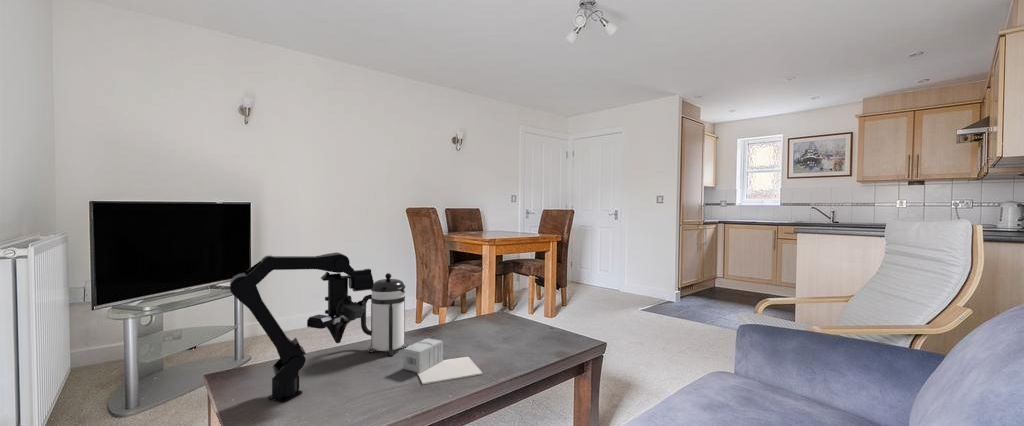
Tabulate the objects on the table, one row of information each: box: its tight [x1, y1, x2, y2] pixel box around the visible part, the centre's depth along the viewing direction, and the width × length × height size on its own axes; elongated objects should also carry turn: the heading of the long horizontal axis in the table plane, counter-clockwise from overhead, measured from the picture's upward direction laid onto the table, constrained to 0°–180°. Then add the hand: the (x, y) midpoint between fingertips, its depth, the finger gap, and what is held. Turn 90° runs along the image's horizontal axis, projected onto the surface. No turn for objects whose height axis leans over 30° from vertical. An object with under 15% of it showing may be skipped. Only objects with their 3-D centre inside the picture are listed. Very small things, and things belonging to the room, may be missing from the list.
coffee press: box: [360, 272, 408, 357], centre depth 156 cm, size 17×16×30 cm
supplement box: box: [402, 337, 444, 374], centre depth 141 cm, size 7×7×13 cm
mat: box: [416, 356, 484, 385], centre depth 138 cm, size 20×16×1 cm
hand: (338, 342), depth 126 cm, fingers closed
